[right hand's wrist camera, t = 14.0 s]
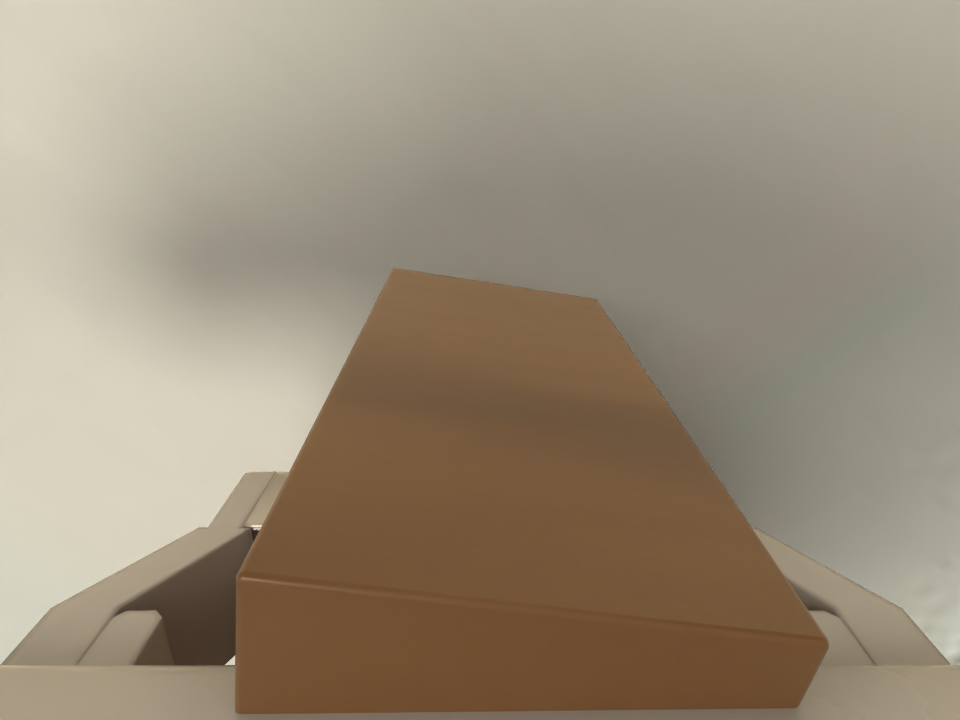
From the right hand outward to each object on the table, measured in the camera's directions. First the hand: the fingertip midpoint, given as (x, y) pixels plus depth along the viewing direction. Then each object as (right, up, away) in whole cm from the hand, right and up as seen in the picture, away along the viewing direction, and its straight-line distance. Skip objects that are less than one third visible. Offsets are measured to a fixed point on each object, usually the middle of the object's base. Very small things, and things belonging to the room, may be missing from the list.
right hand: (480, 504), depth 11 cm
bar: (-2, -8, +8) cm, 12 cm away
